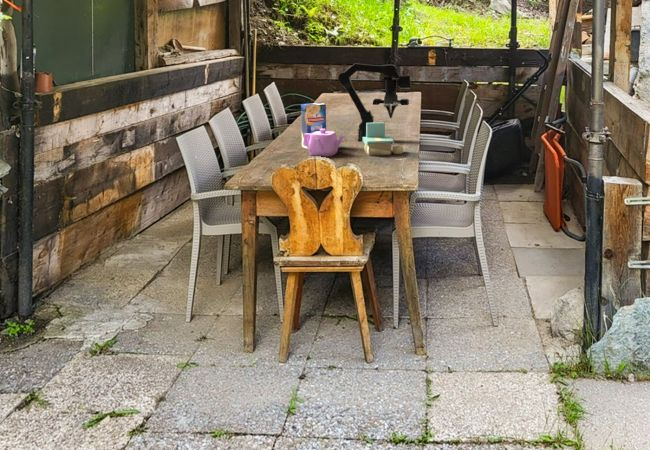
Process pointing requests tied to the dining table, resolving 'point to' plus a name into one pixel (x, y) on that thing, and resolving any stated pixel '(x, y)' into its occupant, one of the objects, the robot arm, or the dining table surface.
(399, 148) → the tape roll
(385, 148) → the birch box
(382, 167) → the dining table surface
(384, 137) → the teal l-shaped bracket
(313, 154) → the teakettle
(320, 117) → the beverage box
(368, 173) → the dining table surface
